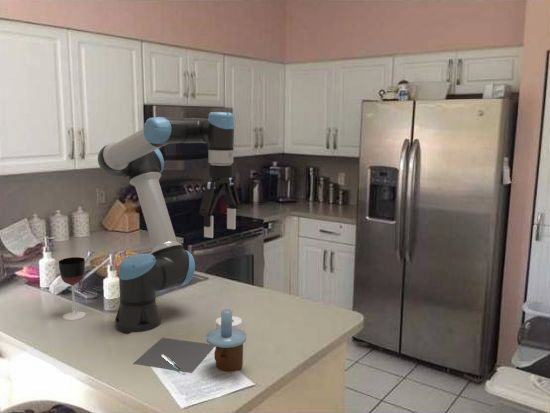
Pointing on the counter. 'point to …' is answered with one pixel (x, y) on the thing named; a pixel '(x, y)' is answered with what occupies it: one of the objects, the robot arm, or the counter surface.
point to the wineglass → (72, 280)
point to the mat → (175, 354)
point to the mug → (229, 358)
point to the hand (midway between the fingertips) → (220, 232)
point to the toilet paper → (235, 322)
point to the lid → (226, 333)
